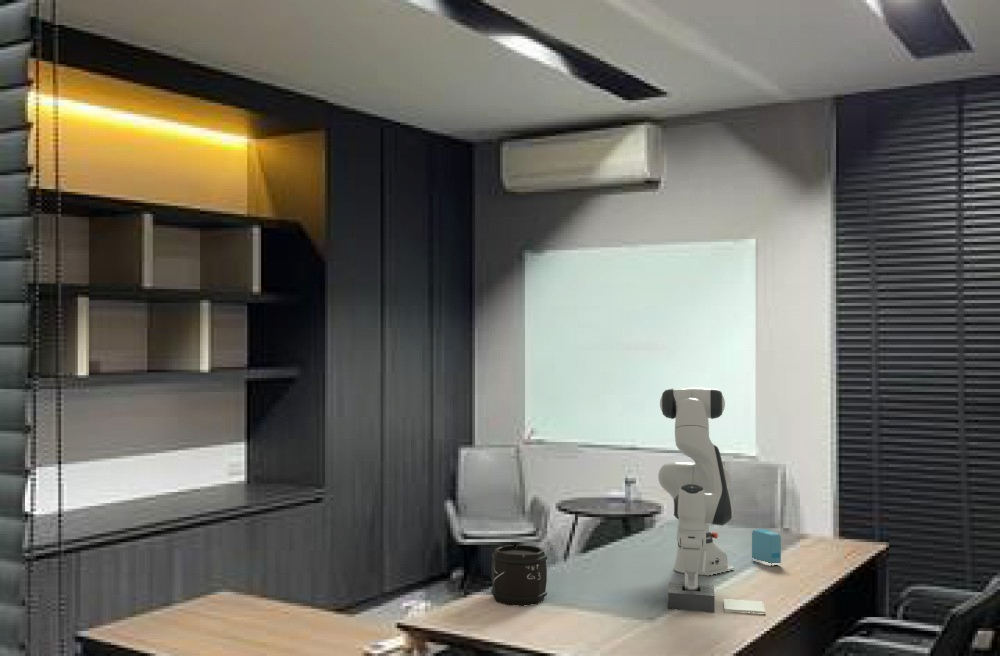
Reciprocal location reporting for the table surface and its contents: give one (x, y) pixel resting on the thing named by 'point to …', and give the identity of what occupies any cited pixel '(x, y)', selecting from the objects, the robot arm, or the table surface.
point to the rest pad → (743, 606)
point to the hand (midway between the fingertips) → (691, 581)
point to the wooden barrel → (519, 575)
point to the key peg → (695, 587)
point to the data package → (766, 546)
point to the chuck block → (691, 597)
